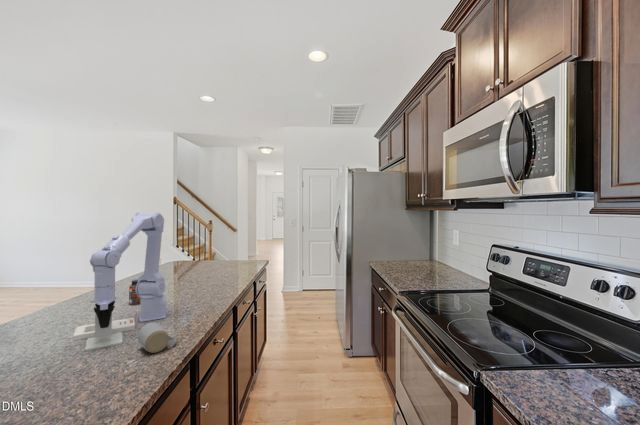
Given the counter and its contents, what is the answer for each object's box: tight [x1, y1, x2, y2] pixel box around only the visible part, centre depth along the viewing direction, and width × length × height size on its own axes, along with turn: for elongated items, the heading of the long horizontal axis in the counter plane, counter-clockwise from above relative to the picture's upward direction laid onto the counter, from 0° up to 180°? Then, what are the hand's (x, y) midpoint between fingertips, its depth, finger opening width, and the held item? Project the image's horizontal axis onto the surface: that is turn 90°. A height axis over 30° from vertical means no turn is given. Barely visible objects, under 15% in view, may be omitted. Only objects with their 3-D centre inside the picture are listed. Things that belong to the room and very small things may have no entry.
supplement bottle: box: [128, 278, 141, 306], centre depth 145 cm, size 6×6×11 cm
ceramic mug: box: [137, 322, 178, 354], centre depth 98 cm, size 11×8×8 cm
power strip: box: [72, 317, 136, 341], centre depth 112 cm, size 18×10×2 cm, turn 124°
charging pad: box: [84, 332, 123, 352], centre depth 102 cm, size 10×10×1 cm
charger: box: [94, 313, 113, 338], centre depth 102 cm, size 4×4×7 cm
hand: (104, 325), depth 102 cm, fingers closed on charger, 4 cm apart
